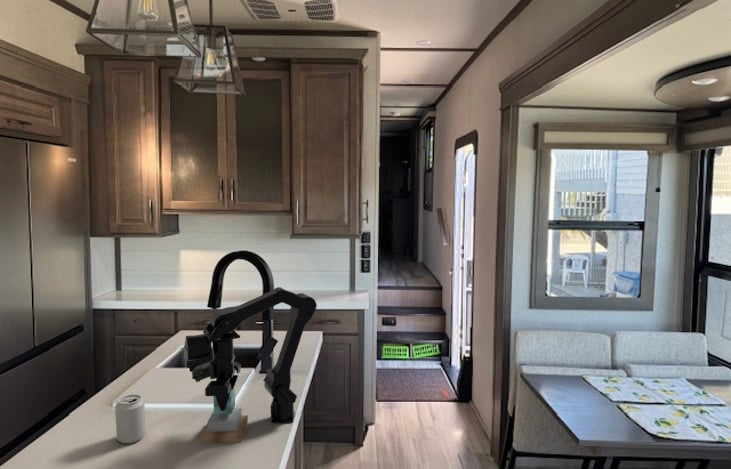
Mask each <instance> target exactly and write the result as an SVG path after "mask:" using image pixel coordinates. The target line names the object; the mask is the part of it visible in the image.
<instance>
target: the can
mask: <svg viewBox="0 0 731 469" xmlns="http://www.w3.org/2000/svg"><path fill="white" fill-rule="evenodd" d="M116 402H117V403H116V404H115V406H114V409H115V410H114V412H115V425H116V426H115V427H116V440H117V441H119V442H120V443H121V444H125V445H128V444H134V443H137V442H140V441H141V440H142V439H143V438H144V437H145V436H146V433H147V430H146V428H147V427H146V409H145V406H146V405H145V400H144V399H143V398H142V395H140V394H138V393H137V394H136V393H135V394H133V393H132V394H126V395H124V396H120V398H118V399H117V401H116Z"/></svg>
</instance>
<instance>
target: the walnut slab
mask: <svg viewBox="0 0 731 469" xmlns="http://www.w3.org/2000/svg"><path fill="white" fill-rule="evenodd" d="M248 424H249V417H248V415H247V414H245V415H243V414H242V419H241V421H240V424H239V426H238V428H237V431H218V432H208V422H207V423H206V424H205V426H204V428H203V430H202V432H201V434H200V441H201V444H203V443H204V444H206V443H207V444H209V443H212V444H213V443H241V442H242V440H243V437H244V434H245V432H246V429H247V427H248Z"/></svg>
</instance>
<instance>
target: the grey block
mask: <svg viewBox="0 0 731 469" xmlns="http://www.w3.org/2000/svg"><path fill="white" fill-rule="evenodd" d="M242 412H243V410H242V407H236V408H235V407H234V410H233V412H232V414H214V410H213V411H212V413H211V415H210V417H209V418H208V420H207V423H208V432H218V431H237V428H238V426H239V424H240V421H241V419H242V415H243V413H242Z"/></svg>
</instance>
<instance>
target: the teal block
mask: <svg viewBox="0 0 731 469" xmlns="http://www.w3.org/2000/svg"><path fill="white" fill-rule="evenodd" d="M212 397H213V411H214V414H232V412H233V410H234V408H235V407H236V389H235V388H234V389H233V390H232V391H231V394H230V396H229V399H228V402H227V405H226V408H225V410H224V411H221V410H220V407H219V404H218V402H217V399H216V397H215V396H212Z"/></svg>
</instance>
